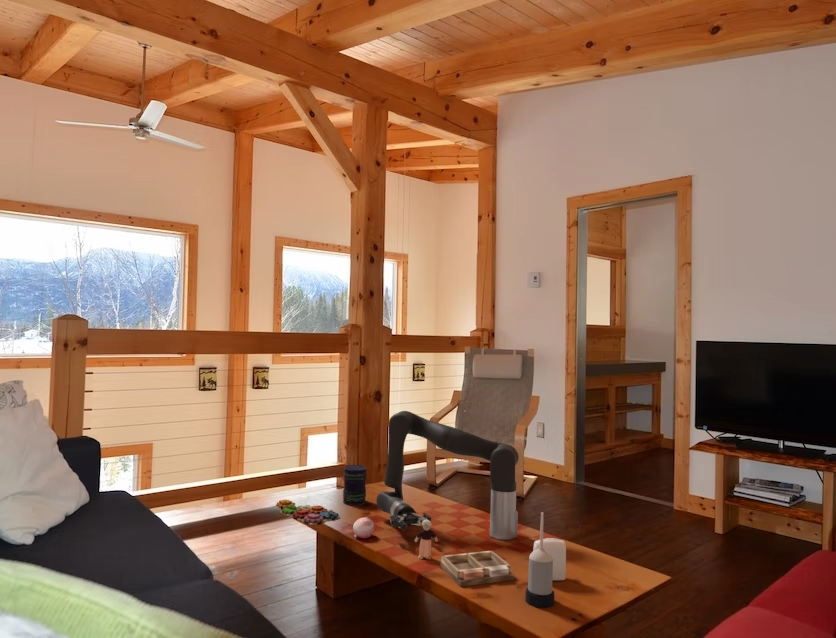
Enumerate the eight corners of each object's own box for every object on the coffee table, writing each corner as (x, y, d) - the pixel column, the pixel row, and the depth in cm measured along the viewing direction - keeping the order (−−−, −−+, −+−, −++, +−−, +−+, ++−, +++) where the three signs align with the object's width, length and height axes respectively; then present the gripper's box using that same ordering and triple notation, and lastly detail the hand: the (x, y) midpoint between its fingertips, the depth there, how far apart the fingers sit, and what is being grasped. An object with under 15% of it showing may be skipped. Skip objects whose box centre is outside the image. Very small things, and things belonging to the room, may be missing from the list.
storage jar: (357, 497, 273) (358, 463, 273) (370, 502, 265) (371, 468, 265) (338, 501, 266) (339, 466, 266) (350, 506, 259) (351, 471, 259)
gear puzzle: (265, 508, 254) (265, 498, 254) (297, 501, 266) (298, 492, 266) (311, 527, 233) (311, 516, 233) (344, 518, 244) (344, 508, 244)
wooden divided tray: (491, 560, 203) (491, 550, 203) (514, 580, 188) (514, 568, 188) (440, 566, 197) (440, 555, 197) (460, 586, 182) (460, 574, 182)
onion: (372, 543, 219) (369, 525, 217) (351, 542, 221) (348, 525, 219) (377, 529, 227) (374, 512, 225) (357, 529, 228) (354, 512, 226)
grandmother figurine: (416, 560, 201) (417, 522, 201) (413, 556, 205) (414, 518, 205) (438, 559, 203) (439, 520, 203) (435, 554, 207) (436, 517, 207)
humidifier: (551, 595, 178) (554, 509, 178) (556, 608, 170) (559, 518, 170) (523, 594, 178) (525, 508, 179) (527, 607, 170) (529, 516, 170)
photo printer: (534, 582, 187) (535, 541, 187) (530, 576, 192) (531, 536, 192) (567, 581, 188) (568, 541, 188) (562, 575, 193) (564, 536, 193)
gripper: (384, 504, 226) (397, 517, 211) (421, 501, 231) (436, 514, 216) (384, 524, 226) (397, 539, 211) (420, 521, 231) (435, 535, 216)
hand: (417, 526), depth 213 cm, fingers open, 8 cm apart
